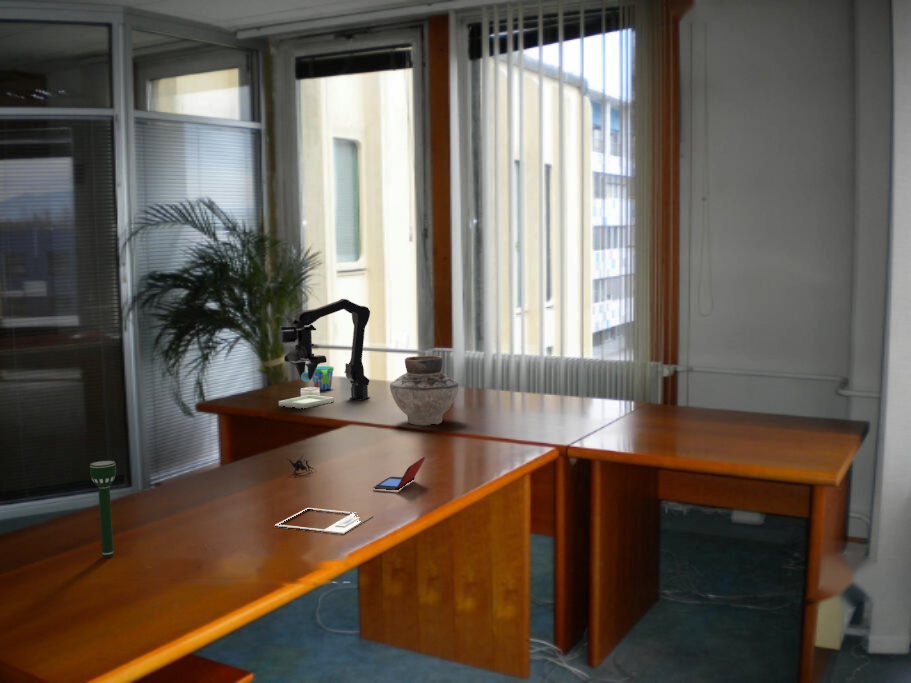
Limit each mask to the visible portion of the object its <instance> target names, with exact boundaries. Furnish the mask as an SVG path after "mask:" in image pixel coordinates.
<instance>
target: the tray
mask: <svg viewBox="0 0 911 683" xmlns="http://www.w3.org/2000/svg"><path fill="white" fill-rule="evenodd" d="M331 402H333V403H335V398H334V397H332V396H325V395H324V396H322V395H320V396H315V395H306V396H301V395H300V396H297V397H293V398H292V397H291V398H287V399H283V400H278V407H283V406H285V407H284V408H292V407H295V408H294V409H301V408H303V409H302V410H305V409H304V408H306V409H310V408H313V407H314V406H315V407H318V405H319V406H323V404H324V405H328V404H331ZM327 403H328V404H327ZM309 407H310V408H309Z"/></svg>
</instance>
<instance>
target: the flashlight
mask: <svg viewBox="0 0 911 683" xmlns="http://www.w3.org/2000/svg"><path fill="white" fill-rule="evenodd" d="M116 464H117V463H116V461H115V460H112V459H107V460H105V459H102V460H96V461H93V462H91V463H90V464H89V475H90V478H91V481H93V483H94V484H95V485H96V486H97V487H98V502H99V503H98V504H99V518H100V520H99V521H100V537H101V553H102V554H101V555H102V557H103V558H106V559H108V558H112V557H113V556H114V541H113V540H114V539H113V538H114V537H113V524H112V523H113V520H112V505H111V504H112V502H111V485H112V483H113V482H114V480H115V477H116V476H117V465H116Z"/></svg>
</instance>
